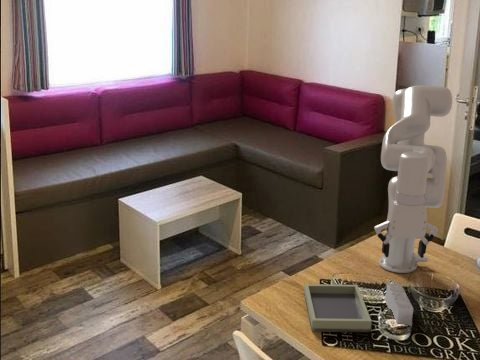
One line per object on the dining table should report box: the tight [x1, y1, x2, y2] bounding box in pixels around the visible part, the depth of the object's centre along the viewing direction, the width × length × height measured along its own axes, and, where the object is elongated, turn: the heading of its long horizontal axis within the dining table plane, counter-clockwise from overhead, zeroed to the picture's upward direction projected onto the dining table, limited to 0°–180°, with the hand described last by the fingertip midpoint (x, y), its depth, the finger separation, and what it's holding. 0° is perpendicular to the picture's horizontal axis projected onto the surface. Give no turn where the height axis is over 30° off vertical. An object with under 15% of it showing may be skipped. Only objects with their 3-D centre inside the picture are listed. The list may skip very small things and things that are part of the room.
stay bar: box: [384, 283, 414, 326], centre depth 164 cm, size 4×14×6 cm, turn 179°
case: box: [303, 283, 372, 333], centre depth 165 cm, size 16×20×4 cm
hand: (403, 255), depth 159 cm, fingers open, 9 cm apart
